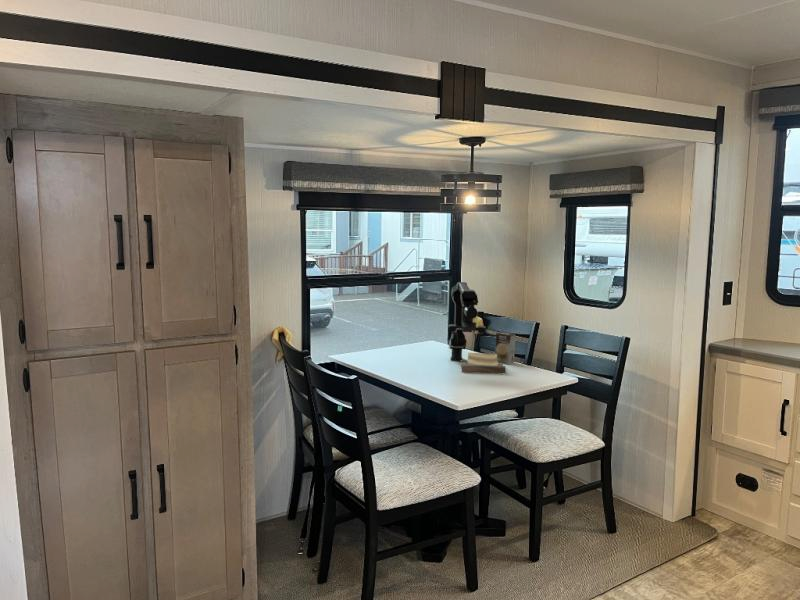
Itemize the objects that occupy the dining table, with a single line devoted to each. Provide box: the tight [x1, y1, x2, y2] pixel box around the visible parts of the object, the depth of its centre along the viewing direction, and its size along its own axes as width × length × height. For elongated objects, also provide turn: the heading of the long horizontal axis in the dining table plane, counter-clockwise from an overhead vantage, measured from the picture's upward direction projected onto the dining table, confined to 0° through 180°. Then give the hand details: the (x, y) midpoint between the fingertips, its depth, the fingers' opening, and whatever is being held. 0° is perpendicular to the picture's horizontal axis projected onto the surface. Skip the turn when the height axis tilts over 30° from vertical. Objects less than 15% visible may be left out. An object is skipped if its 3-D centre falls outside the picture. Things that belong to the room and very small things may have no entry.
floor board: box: [460, 361, 506, 374], centre depth 309 cm, size 16×22×3 cm
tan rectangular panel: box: [467, 352, 499, 366], centre depth 310 cm, size 10×15×2 cm, turn 85°
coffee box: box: [494, 331, 517, 365], centre depth 325 cm, size 9×6×16 cm
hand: (466, 345), depth 303 cm, fingers open, 9 cm apart
